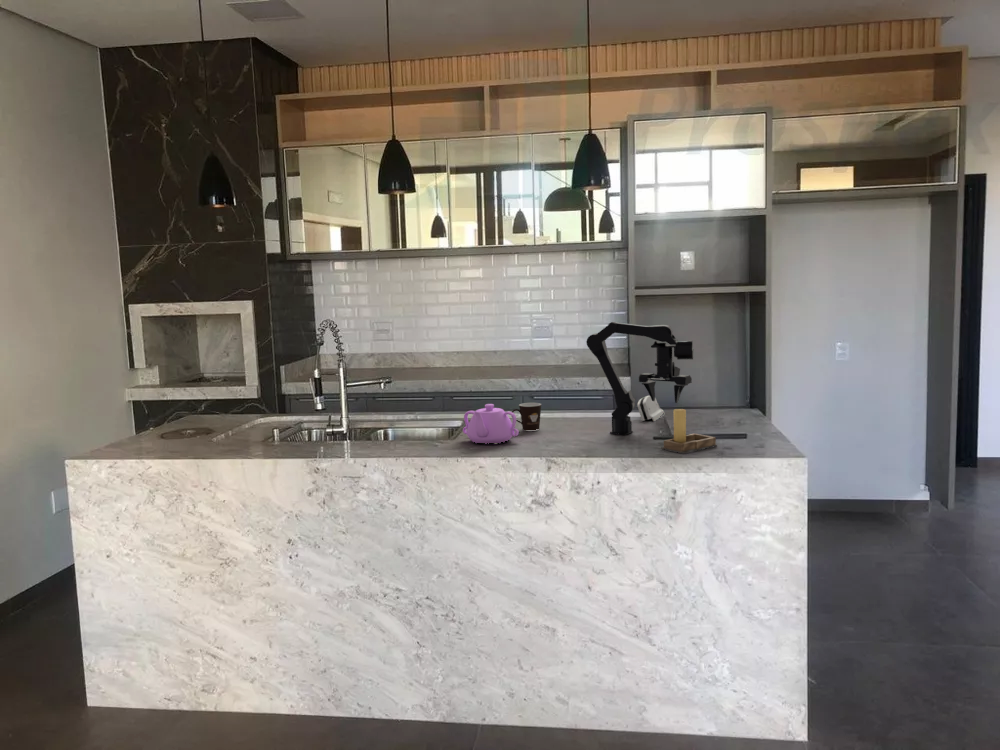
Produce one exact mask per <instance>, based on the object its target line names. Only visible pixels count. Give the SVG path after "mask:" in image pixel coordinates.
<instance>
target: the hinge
mask: <svg viewBox="0 0 1000 750" xmlns="http://www.w3.org/2000/svg"><path fill="white" fill-rule="evenodd" d="M637 409H638V412H639V415H640V418H641V421H642V422H645V421H646V420H651V419H652V421H653V422H657V420H658V419H660V418H661V417H662V416H661V415H662V414H663V413H664V414H665V411H664V410H663V409H662V408H661V407H660V405H659V403H658V401H657V398H656V397H655V401H652V399H651V397H650V395H646V396H644V397H642V398H640V399H638V402H637ZM660 416H661V417H660Z"/></svg>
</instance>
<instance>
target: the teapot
mask: <svg viewBox="0 0 1000 750" xmlns="http://www.w3.org/2000/svg"><path fill="white" fill-rule="evenodd" d="M469 414H471V415H472V416H471V418H470V420H469V417H468V415H469ZM463 415H464V416H463V420H464V424H465V426H464V427H463V428H462V433H463V434H464V435H466V436H467V438H468V439H469V440H470V441H471V442H472V443H474V442H475V443H474V444H477V443H485V444H484V445H490V444H489V443H499V444H502V443H501V442H503V443H506V442H505V441H507V442H509V441H510V439H511V438H512V437H517V436H518V435H519V434H520V433H519V432H520V431H519V430H518V428H515V427H516V424H517V421H516V420H517V415H516V414H515V413H514V412H513V413H512V411H508V410H507V411H505V410H504V409H503V408H499V407H495V404H494V403H486V404H484V407H483V408H479V409H476V410H468V411H466V412H465V413H464V414H463ZM509 416H511V418H512V420H511V419H510V417H509ZM508 440H509V441H508ZM487 443H488V444H487Z"/></svg>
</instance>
